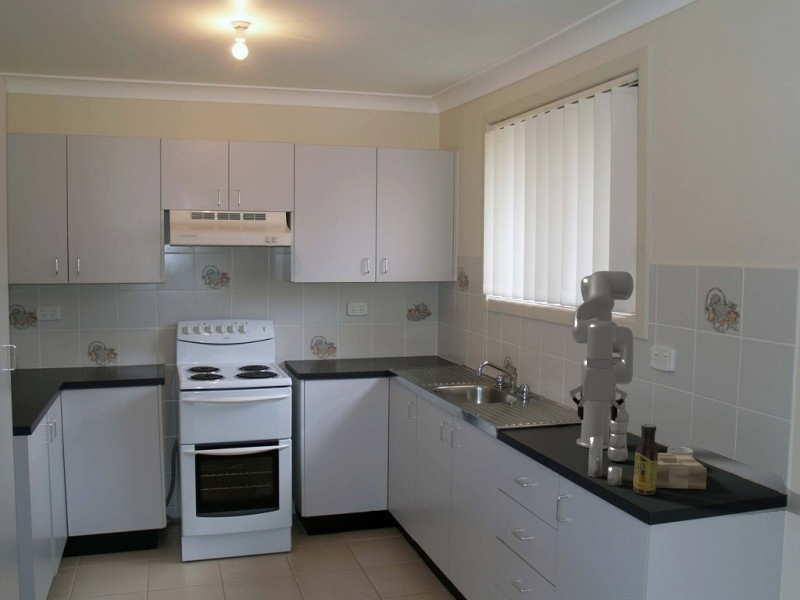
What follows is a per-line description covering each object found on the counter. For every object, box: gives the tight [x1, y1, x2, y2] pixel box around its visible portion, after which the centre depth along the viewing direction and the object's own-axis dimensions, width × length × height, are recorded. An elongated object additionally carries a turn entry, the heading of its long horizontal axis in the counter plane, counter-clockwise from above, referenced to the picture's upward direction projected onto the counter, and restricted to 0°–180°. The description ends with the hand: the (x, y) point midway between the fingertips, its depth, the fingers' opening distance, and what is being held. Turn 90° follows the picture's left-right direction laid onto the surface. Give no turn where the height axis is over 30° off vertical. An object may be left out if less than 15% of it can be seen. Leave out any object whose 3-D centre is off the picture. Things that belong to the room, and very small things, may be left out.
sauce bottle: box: [632, 423, 659, 496], centre depth 219 cm, size 6×6×20 cm
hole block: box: [656, 452, 708, 490], centre depth 232 cm, size 16×16×6 cm
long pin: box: [587, 436, 604, 478], centre depth 235 cm, size 4×4×12 cm
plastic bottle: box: [607, 399, 630, 463], centre depth 251 cm, size 6×7×20 cm
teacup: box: [667, 446, 694, 458], centre depth 247 cm, size 10×8×5 cm
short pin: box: [607, 465, 623, 487], centre depth 227 cm, size 4×4×5 cm
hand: (597, 419), depth 233 cm, fingers open, 9 cm apart
